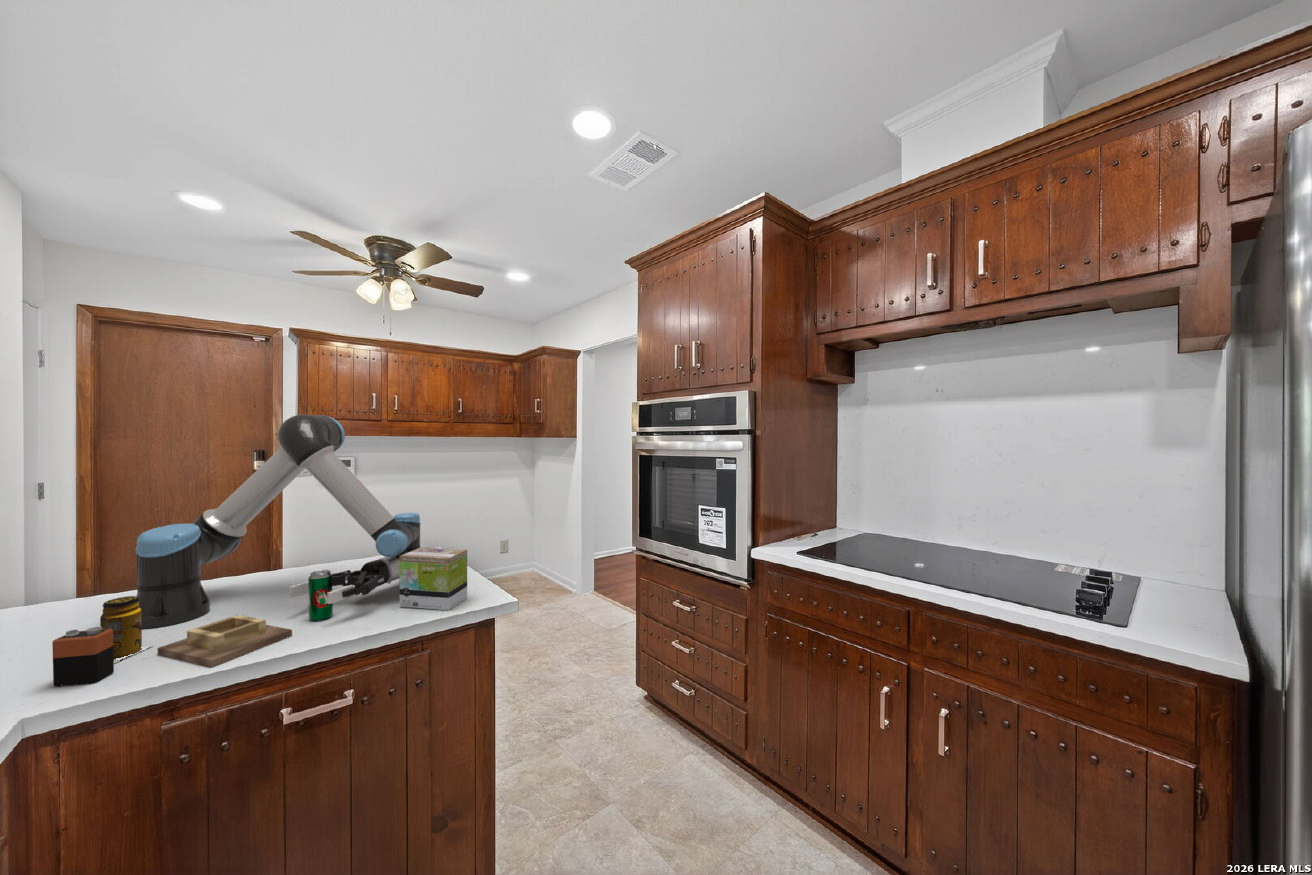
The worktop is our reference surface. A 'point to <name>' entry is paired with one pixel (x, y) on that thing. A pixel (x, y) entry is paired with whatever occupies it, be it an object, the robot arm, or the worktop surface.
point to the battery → (83, 656)
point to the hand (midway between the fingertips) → (308, 595)
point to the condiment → (123, 625)
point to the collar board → (224, 640)
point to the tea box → (433, 578)
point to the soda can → (320, 595)
